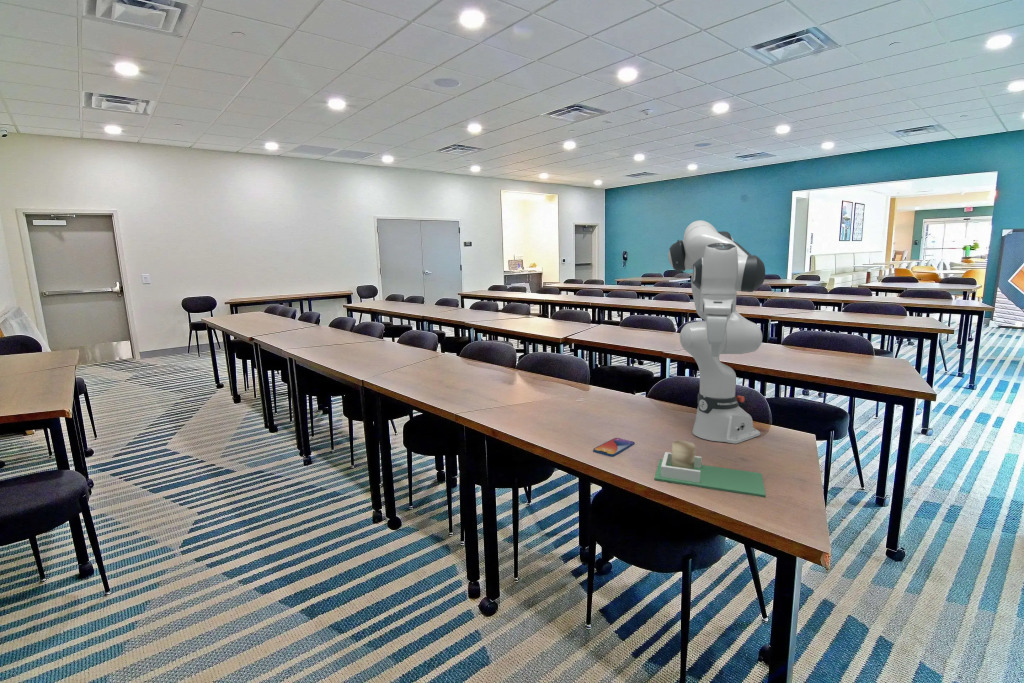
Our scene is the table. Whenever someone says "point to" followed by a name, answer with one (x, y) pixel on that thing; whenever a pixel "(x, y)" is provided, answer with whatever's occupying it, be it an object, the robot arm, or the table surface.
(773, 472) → the table surface
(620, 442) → the smartphone
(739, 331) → the robot arm
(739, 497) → the table surface
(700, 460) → the putting green
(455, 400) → the table surface
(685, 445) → the maple canister
